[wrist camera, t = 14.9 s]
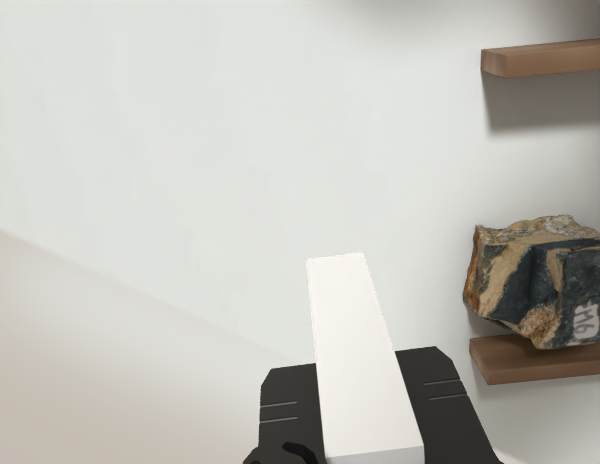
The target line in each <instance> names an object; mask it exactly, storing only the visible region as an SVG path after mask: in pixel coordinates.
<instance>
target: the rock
mask: <svg viewBox="0 0 600 464" xmlns="http://www.w3.org/2000/svg"><path fill="white" fill-rule="evenodd" d="M473 237H474V243H475V244H474V249H473V254H472V258H471V263H470V266H469V268H468V277H467V280H466V283H465V287H464V292H463V301H465V302H466V303H468V304H469V305H471V308H472V312H474V313H476V316H478V317H483V318H484V319H486V320H490V321H491V322H492V323H495V324H497V325H500V326H502V327H503V328H505V329H509V330H514V331H515V332H516V333H518V334H520V335H522V336H524V337H526V338H531V340H532V342H533V344H534V346H535V347H536V348H537V349H558V348H563V347H565V346H575V345H587V344H591V343H596V342H599V341H600V234H599V233H598V232H597V231H596V230H595V229H591V228H588V227H581V226H580V225H579V224H578V223H576V222H574V220H573V217H572V216H571V217H570V216H569V215H566V216H565V215H559V216H547V217H539V218H537V219H535V220H532V221H528V220H524V221H519V222H516V223H514V224H512V225H511V226H509V227H508V228H507V229H500V230H495V229H491V228H484V227H483V225H481V226H480V225H476V233H475V234H474V236H473Z"/></svg>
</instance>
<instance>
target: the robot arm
mask: <svg viewBox="0 0 600 464" xmlns="http://www.w3.org/2000/svg"><path fill="white" fill-rule="evenodd" d="M306 266H307V276H308V287H309V297H310V307H311V317H312V327H313V338H314V348H315V358H316V363H313V364H305V365H297V366H290V367H281V368H274V369H271V370H270V372H269V373H268V375H267V377H266V379H265V380H264V382H263V384H262V385H261V397H260V400H261V401H260V424H259V444H258V447H257V448H255V449H253V450H252V452H251V453H250V454H249V455H248V457H247V458H246V459H245V460H244V461H243V464H504V463H502V462H501V461H499V459H498V458H497V456H496V455H495V453H494V451H493V449H492V447H491V445H490V443H489V440H488V438H487V436H486V434H485V432H484V429H483V427H482V425H481V423H480V421H479V419H478V416H477V414H476V412H475V410H474V408H473V405H472V403H471V401H470V399H469V397H468V396H467V392H466V390H465V388H464V386H463V383H462V381H460V377H459V375H458V372H457V370H456V368H455V366H454V364H453V361H452V360H451V359H450V358H449V357H448V356H446V355H445V354H444V353H443V352H442V351H440V350H439V349H438V348H437V347H436V346H433V347H425V348H417V349H409V350H401V351H394V348H393V345H392V342H391V339H390V336H389V332H388V329H387V326H386V323H385V319H384V316H383V313H382V310H381V307H380V303H379V300H378V297H377V294H376V291H375V287H374V284H373V281H372V278H371V275H370V271H369V268H368V265H367V262H366V259H365V255H364V252H357V253H349V254H342V255H334V256H327V257H319V258H311V259H306Z"/></svg>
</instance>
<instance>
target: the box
mask: <svg viewBox="0 0 600 464" xmlns="http://www.w3.org/2000/svg"><path fill="white" fill-rule="evenodd" d="M599 69H600V39H589V40H579V41H568V42H557V43H547V44H536V45H525V46H515V47H504V48H493V49H483V50H481V70H483V71H486V72H489V73H492V74H495V75H497V76H500V77H503V78H514V77H525V76H535V75H546V74H556V73H567V72H578V71H588V70H599ZM469 352H470V354H471V356H472V357H473V359H474V361H475V363H476V365H477V366H478V368H479V370H480V372H481V373H482V375H483V377H484V379H485V381H486V382H487V384H488V385H495V384H505V383H515V382H525V381H535V380H545V379H555V378H565V377H575V376H585V375H595V374H600V341H599V342H596V343H591V344H587V345H575V346H565V347H563V348H558V349H537V348H536V347H535V346H534V344H533V342H532V340H531V338H526V337H524V336H522V335H520V334H512V335H502V336H492V337H482V338H472V339H470V350H469Z"/></svg>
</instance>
